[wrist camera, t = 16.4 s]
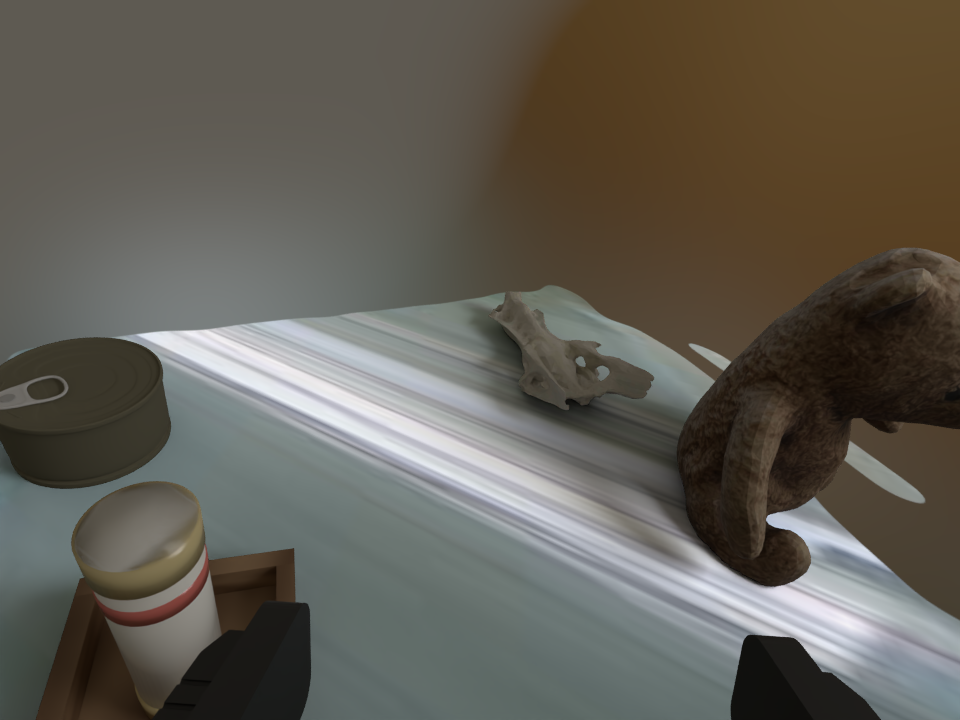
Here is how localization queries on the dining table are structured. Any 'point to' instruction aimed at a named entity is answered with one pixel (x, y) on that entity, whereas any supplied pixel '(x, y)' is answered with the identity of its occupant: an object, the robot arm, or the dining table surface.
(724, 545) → the toy
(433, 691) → the dining table surface
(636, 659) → the dining table surface
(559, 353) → the skull
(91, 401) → the can
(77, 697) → the tray
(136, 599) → the fuse
